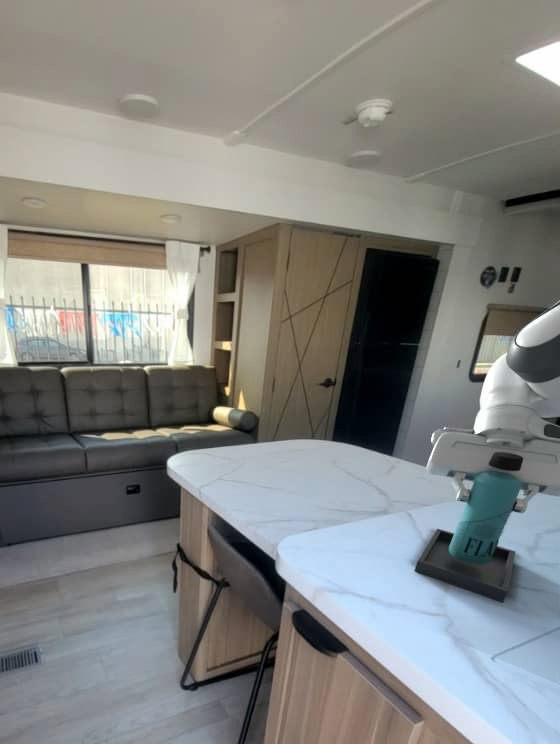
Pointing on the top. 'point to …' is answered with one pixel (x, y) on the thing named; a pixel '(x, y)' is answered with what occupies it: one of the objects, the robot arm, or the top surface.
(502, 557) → the tray
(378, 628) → the top surface
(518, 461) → the beverage bottle
